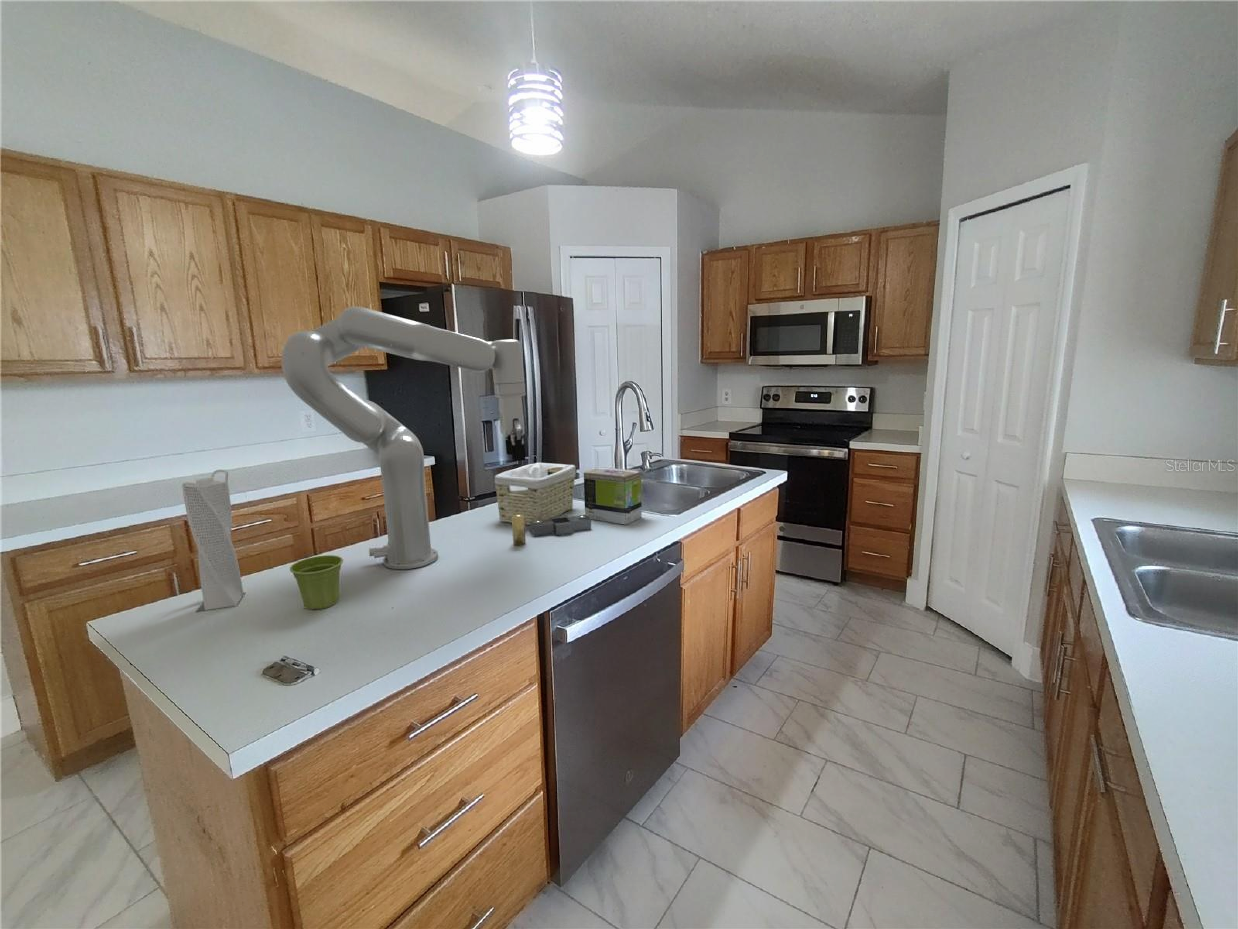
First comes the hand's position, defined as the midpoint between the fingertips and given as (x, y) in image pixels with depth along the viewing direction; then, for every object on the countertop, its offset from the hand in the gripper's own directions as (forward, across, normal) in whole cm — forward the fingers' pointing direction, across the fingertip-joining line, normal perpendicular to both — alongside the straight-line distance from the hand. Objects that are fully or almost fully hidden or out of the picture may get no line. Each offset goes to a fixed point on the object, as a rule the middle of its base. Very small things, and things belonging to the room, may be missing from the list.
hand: (515, 457), depth 141 cm
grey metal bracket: (+24, -8, +12) cm, 28 cm away
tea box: (+25, -14, +30) cm, 41 cm away
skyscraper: (+22, +13, -64) cm, 69 cm away
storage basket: (+24, -25, +9) cm, 36 cm away
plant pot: (+22, +21, -45) cm, 54 cm away
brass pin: (+24, 0, -1) cm, 24 cm away
